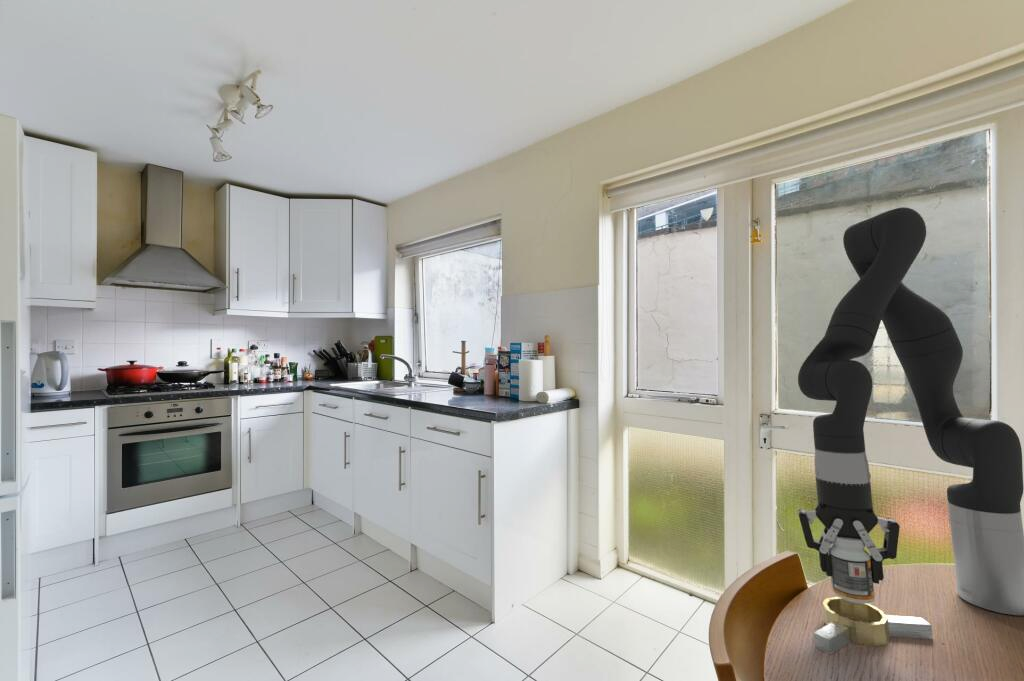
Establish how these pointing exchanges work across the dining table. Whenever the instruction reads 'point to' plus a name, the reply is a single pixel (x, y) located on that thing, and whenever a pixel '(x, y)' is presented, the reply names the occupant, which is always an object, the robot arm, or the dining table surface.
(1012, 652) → the dining table surface
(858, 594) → the pill bottle
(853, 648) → the dining table surface
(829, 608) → the stand
